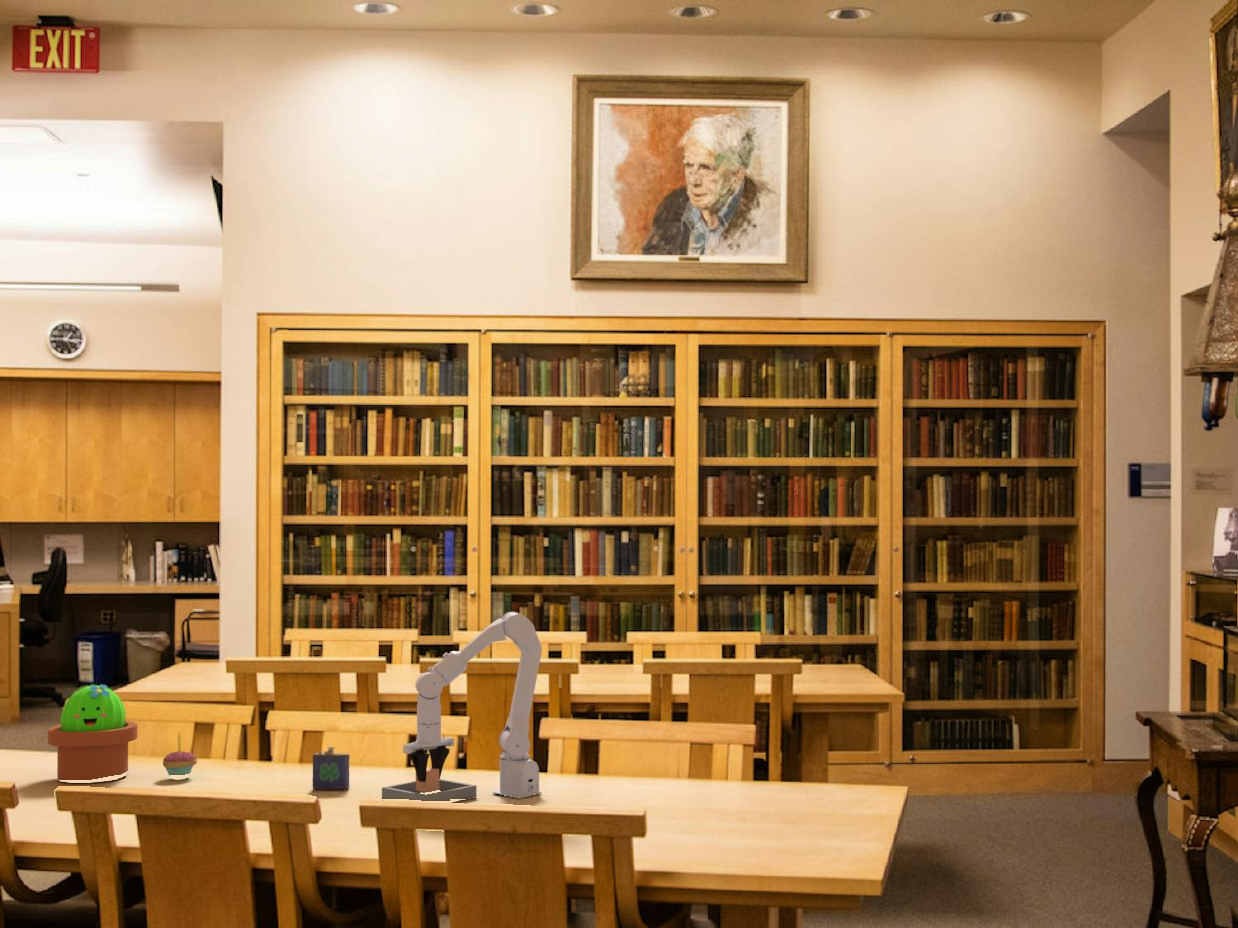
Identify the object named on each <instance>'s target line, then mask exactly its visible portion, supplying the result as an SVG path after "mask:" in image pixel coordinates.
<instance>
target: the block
mask: <svg viewBox="0 0 1238 928" xmlns="http://www.w3.org/2000/svg"><path fill="white" fill-rule="evenodd" d="M415 781H416V791H421V792H431V791H436V790H439V769H436V768H432V767H429V766H427V771H426V781H425V782H421V781H418V778H417V774H416V773H415Z"/></svg>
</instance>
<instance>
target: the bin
mask: <svg viewBox="0 0 1238 928" xmlns="http://www.w3.org/2000/svg"><path fill="white" fill-rule="evenodd" d="M439 790H440V791H441V792H437V793H432V794H427V795H425V794H420V793H421V791H416V780H413V781H407V782H403V783H398V784H393V785H387V786H382V787H381V800H382V799H409V800H421V801H450V799H469V798H473V797H476V798H477V785H476V784H472V783H465V782H460V781H455V780H447V779H442V778H440V779H439ZM431 792H432V791H431ZM422 793H426V792H422ZM469 800H470V799H469Z"/></svg>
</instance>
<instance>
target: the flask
mask: <svg viewBox="0 0 1238 928" xmlns="http://www.w3.org/2000/svg"><path fill="white" fill-rule="evenodd" d="M327 749H328V750H326V751H321V750H320V751H319V752H317V753H313V755H312V791H314V792H317V791H318V792H323V791H324V792H327V791H328V792H329V791H332V792H333V791H334V792H335V791H336V792H337V791H340V792H341V791H349V790H350V754H349V753H346V752H345V753H342V752H341V753H340V752H339V753H334V750H335V746H328V747H327Z"/></svg>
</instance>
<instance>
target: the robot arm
mask: <svg viewBox="0 0 1238 928" xmlns="http://www.w3.org/2000/svg"><path fill="white" fill-rule="evenodd" d="M537 634H538V633H537V632H536V629H535V625H534V624H533V623H532V622H531V621H530V619H529V618H528V617H527V616H525V615H524V614H521V613H519V612H517V611H509V612H506V613H504V615H502V616H501V618H500V617H499V618H498V619H495V620H494V621H493V622H492V623H490V624H489V625H488V626H487V627H485V628H484V629H483V630H482V631H481V632H479V634H478V635H477V636H476V637H474V638H473V639H472V640H471V641H469V643H468V644H466V645H465V646H464V647H463V648H462V649H460V651H454V650H453V651H452V650H451V651H450V652H449V653H448V652H444V654H443V655H442V657H443V658H442V659H440V660H439V661H438V662H436V664H434V665H433V666H429V667H428V668H427V672H423V673H421V674H420V675H419V676H418V677H417V680H416V683H415V689H416V691H417V692H418V693H417V696H416V697H417V704H416V740H415V741H413V742H410V743H406V744H403V745H402V753H403V754H408V757H409V758H410V760H411V762H412V764H413V767H414V771H415V775H416V774H417V778H418V781H421V782H425V781H426V771H427V767H428V762H429V758H430V762H431V763H430V764H431V768H436V769H439V779H441V775H442V772H443V767H444V765H445V761H446V760H447V758H448V755H449V754H450V749H451V748H448V747H454V746H455V738H454V737H450V736H447V737H442V704H441V694H442V693H443V687H447V686H448V685H449V684H451V683H452V682H453V681H454V680H456V678H458V677H460V675H461V674H463V673H464V672H465V671H467V668H468V663H469V661H471V660H472V659H473V658H474V657H476V656H477V655H479V654H480V653H481V652H482V651H484V650H486V648H488V647H489V646H490V645H492V644H493V643H495V642H502V641H507V640H508V639H510V640H511V641H512V642H514V645H515V646H516V647H517V649H519V652H520V659H519V663H518V669H517V672H516V673H517V674H516V678H515V684H514V690H513V694H512V701H511V705H510V711H509V715H508V718H507V720H506V723H505V727H504V729H502V731H501V733H500V735H499V738H498V739H499V740H498V742H499V743H498V744H499V747H500V748H501V749H502V750H503V751H502V752H501V754H499V790H496V791H492V792H491V793H493V795H495V794H500V795H499V796H501V795H506V796H511V797H510V798H512V797H514V798H513V799H517V798H518V799H519V800H520V799H524V797H525V798H527V797H528V796H529V797H532V796H531V795H534V794H538V795H542V793H543V792H542V791H540V768H539V765H538V763H537V761H534V760H532V759H531V758H530V754H529V751H530V749H531V742H530V738H529V737H530V736H529V733H530V715H531V710H532V706H533V705H532V704H533V699H534V695H535V694H534V693H535V689H536V683H537V678H538V672H539V668H540V663H541V657H542V654H543V653H542V651H543V647H542V644H541V641H540V639H539V637H538V635H537ZM507 638H508V639H507ZM426 751H428V753H426ZM506 796H505V797H506ZM534 796H535V795H534Z"/></svg>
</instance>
